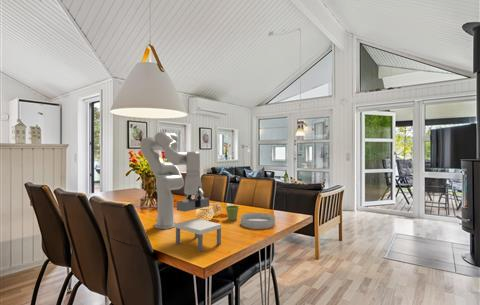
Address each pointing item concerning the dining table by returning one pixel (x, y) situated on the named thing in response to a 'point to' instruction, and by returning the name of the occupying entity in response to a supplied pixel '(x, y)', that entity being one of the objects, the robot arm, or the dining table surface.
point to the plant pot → (232, 212)
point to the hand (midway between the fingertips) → (193, 206)
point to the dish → (257, 220)
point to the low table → (198, 230)
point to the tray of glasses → (191, 204)
